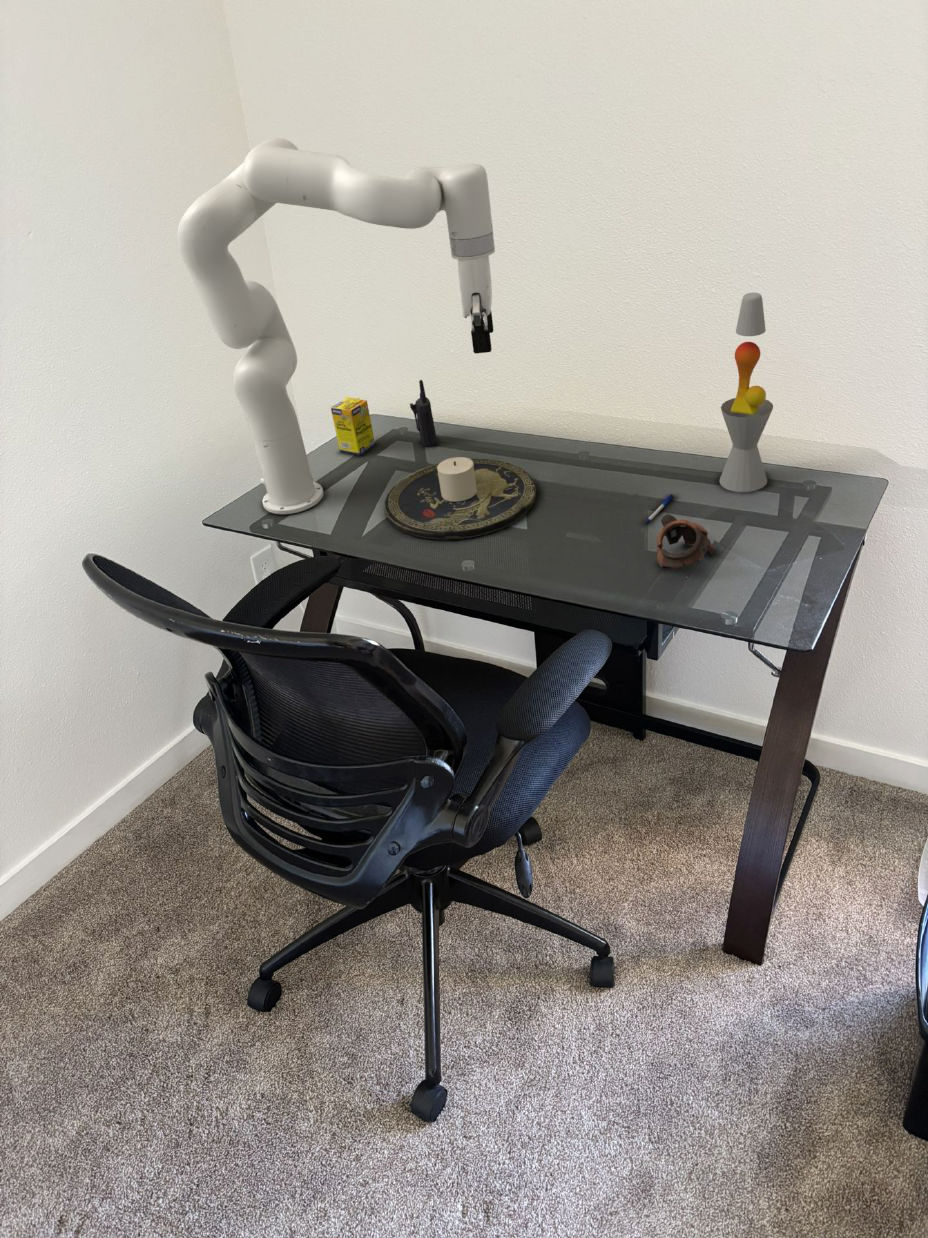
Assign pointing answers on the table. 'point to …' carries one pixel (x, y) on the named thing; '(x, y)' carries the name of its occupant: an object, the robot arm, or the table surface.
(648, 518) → the ballpoint pen
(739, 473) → the lava lamp
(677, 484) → the table surface
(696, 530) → the pottery mug
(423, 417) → the two-way radio
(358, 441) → the supplement box
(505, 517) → the decorative plate
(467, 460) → the candle
